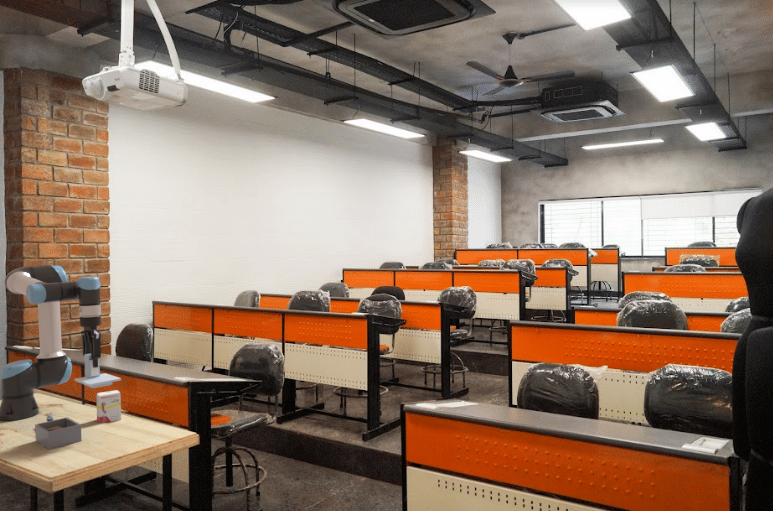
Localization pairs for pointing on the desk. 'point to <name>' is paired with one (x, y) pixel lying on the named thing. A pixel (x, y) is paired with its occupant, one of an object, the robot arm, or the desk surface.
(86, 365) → the lid
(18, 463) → the desk surface
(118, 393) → the ink box
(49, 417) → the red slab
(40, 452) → the desk surface
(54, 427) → the walnut part
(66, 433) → the tub
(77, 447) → the desk surface
